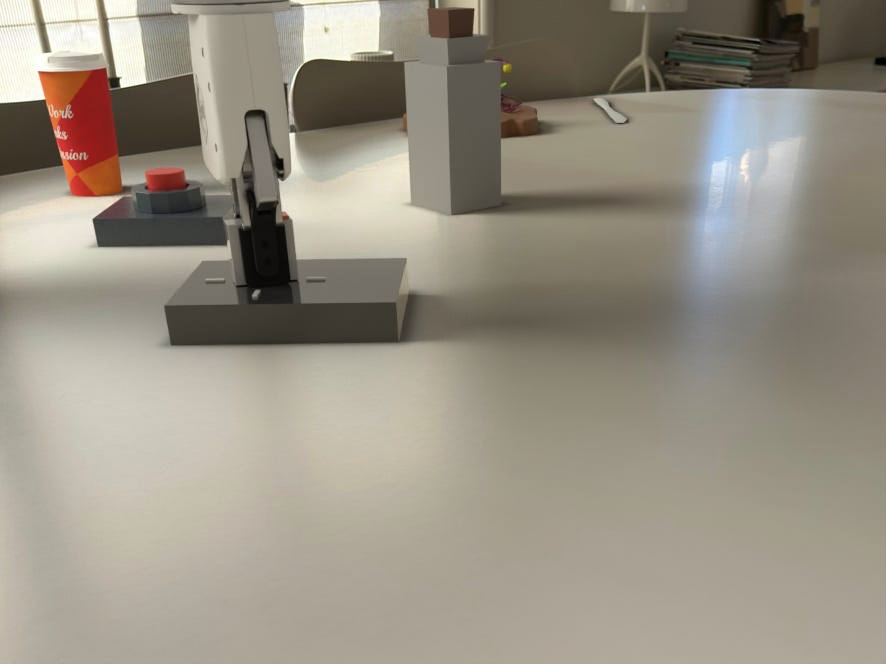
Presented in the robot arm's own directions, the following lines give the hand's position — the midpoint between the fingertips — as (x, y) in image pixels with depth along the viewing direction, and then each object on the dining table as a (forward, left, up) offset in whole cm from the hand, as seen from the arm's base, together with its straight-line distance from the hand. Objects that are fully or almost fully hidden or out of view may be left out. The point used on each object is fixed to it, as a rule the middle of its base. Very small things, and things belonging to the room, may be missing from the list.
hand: (265, 278), depth 78 cm
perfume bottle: (+13, +39, -3) cm, 41 cm away
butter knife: (+36, +107, -3) cm, 113 cm away
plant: (+14, +92, -3) cm, 93 cm away
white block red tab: (0, 0, 0) cm, 0 cm away
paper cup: (-28, +49, -3) cm, 57 cm away
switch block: (-14, +28, -3) cm, 31 cm away
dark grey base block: (+2, 0, -3) cm, 4 cm away
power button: (-14, +28, +1) cm, 31 cm away
